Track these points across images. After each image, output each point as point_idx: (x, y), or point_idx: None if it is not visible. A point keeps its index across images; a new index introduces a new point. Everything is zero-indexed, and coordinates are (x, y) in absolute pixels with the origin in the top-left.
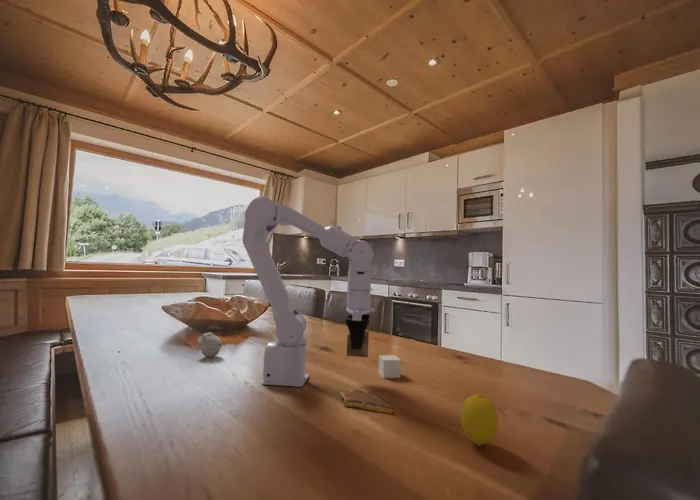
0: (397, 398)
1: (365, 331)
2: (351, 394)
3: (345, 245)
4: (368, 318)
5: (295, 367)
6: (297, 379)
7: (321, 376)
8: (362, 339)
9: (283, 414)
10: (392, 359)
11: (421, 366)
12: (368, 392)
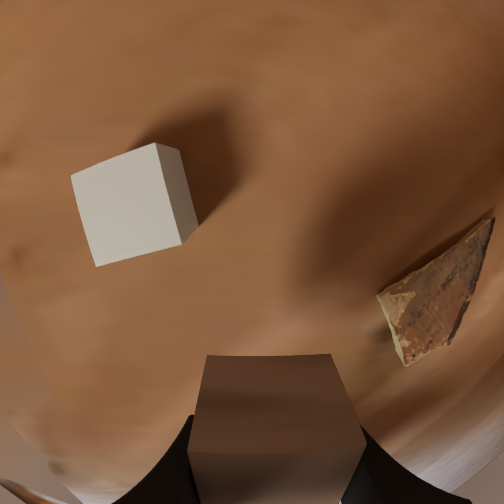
0: (408, 188)
1: (192, 466)
2: (428, 336)
3: None
4: None
5: None
6: None
7: None
8: (380, 447)
9: (449, 419)
10: (154, 192)
11: (39, 74)
12: (413, 290)
